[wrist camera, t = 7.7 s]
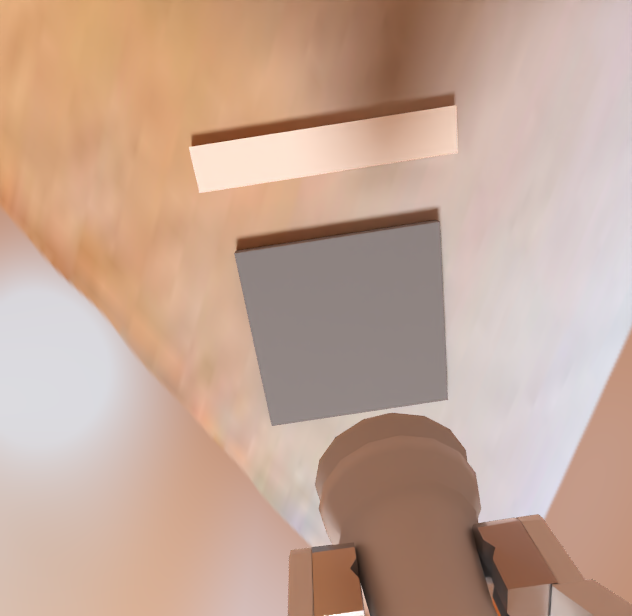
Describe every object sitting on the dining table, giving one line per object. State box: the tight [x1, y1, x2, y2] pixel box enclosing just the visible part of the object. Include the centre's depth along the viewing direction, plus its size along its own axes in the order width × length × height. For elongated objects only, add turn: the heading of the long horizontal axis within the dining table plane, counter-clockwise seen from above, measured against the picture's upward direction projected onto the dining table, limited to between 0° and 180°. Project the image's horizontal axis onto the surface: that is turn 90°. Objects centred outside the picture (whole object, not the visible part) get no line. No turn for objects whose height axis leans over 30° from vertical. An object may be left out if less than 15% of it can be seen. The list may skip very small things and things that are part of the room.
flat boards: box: [189, 105, 458, 426], centre depth 21 cm, size 15×12×1 cm
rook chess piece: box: [315, 413, 498, 616], centre depth 9 cm, size 4×4×8 cm
